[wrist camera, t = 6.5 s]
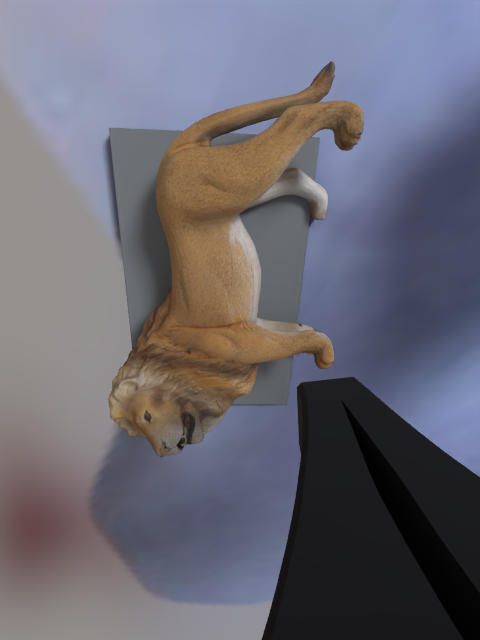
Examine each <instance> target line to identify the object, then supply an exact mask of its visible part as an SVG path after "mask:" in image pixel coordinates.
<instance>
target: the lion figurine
mask: <svg viewBox="0 0 480 640" xmlns="http://www.w3.org/2000/svg"><path fill="white" fill-rule="evenodd" d="M334 70H335V64H334V62H332V61H331V62H330V63H329V64H327V65H326V66H325V67H324V68H323V69H322V70H321V71H320V73H319V74H318V75H317V76H316V77H315V79H314V80H313V82H312V84H311V85H310V87H308V88H307V89H305V90H303V91H301V92H299V93H298V94H294V95H290V96H286V97H281V98H275V99H270V100H265V101H260V102H255V103H250V104H246V105H242V106H238V107H234V108H231V109H227V110H224V111H221V112H218V113H215V114H212V115H210V116H208V117H206V118H203V119H202V120H200V121H198V122H196V123H194V124H193V125H191V126H190V127H189V128H187V129H186V130H184V131H183V132H182V133H181V134H180V135H178V137H177V138H176V139H175V140H174V141H173V142H172V144H171V145H170V146H169V147H168V149H167V151H166V152H165V154H164V156H163V158H162V160H161V163H160V165H159V169H158V173H157V180H156V202H157V209H158V213H159V217H160V220H161V223H162V226H163V229H164V232H165V235H166V238H167V241H168V245H169V250H170V258H171V269H172V286H171V287H169V289H168V291H167V294H166V296H165V298H164V300H163V302H162V303H161V304H160V305H158V306H157V307H156V308H155V309H154V311H153V312H152V313H151V314H150V315H149V316H148V318H147V320H146V322H145V324H144V327H143V332H142V334H141V336H140V337H139V339H138V341H137V345H136V348H135V349H133V350H132V351H131V352H130V354H129V357H128V359H127V361H126V362H125V363H124V365H123V366H122V367H121V368H120V369H119V372H118V375H117V377H115V378H114V380H113V382H112V392H111V394H110V396H109V406H110V417H111V419H114V421H115V422H116V423H118V424H119V427H120V428H125V429H127V432H128V435H129V436H133V437H134V436H138V435H140V436H143V437H145V438H147V439H148V441H149V442H150V443H151V445H152V447H153V449H154V451H155V452H156V454H157V455H158V456H160V457H163V456H164V455H173V454H177V453H179V452H181V451H182V449H183V447H184V445H186V444H195V443H200V442H201V441H203V439H204V434H205V433H207V432H208V431H210V430H211V429H212V428H213V427H215V426H216V425H217V424H218V422H219V421H221V419H222V418H223V417H224V415H225V413H226V412H227V410H228V408H229V407H230V406H231V405H232V404H233V402H234V400H235V399H237V398H239V397H241V396H244V395H247V394H248V393H249V392H250V391H251V389H252V387H253V385H254V383H255V378H256V374H257V368H258V363H261V362H267V361H272V360H277V359H282V358H285V357H289V356H292V355H296V354H299V353H308V354H314V356H315V363H316V365H317V366H318V367H319V368H320V369H326V368H329V367H330V366H331V365H332V363H333V361H334V351H333V347H332V343H331V341H330V339H329V338H328V337H327V336H326V335H325V334H323V333H320V332H317V331H316V330H314V329H313V328H312V327H311V326H308V325H304V324H300V323H287V322H280V321H271V320H265V319H260V318H257V313H258V303H259V297H260V289H261V267H260V262H259V258H258V254H257V251H256V248H255V245H254V243H253V241H252V239H251V237H250V236H249V234H248V232H247V230H246V228H245V227H244V225H243V223H242V221H241V218H240V215H239V214H240V213H241V212H242V211H244V210H245V209H247V208H250V207H253V206H256V205H258V204H261V203H263V202H266V201H269V200H271V199H274V198H277V197H280V196H284V195H297V196H300V197H302V198H304V199H305V200H306V201H308V203H309V206H310V215H311V217H312V218H314V219H316V220H323V219H324V218H325V215H326V212H327V205H328V196H327V192H326V191H325V189H324V188H323V187H322V186H320V185H319V184H318V183H316V182H315V181H314V180H312V179H311V178H310V177H309V176H308V175H306V174H305V173H304V172H303V171H302V170H300V169H299V168H295V167H294V168H289V169H286V168H287V166H288V165H289V164H290V162H291V161H292V160H293V159H294V157H295V156H296V154H297V153H298V152H299V150H300V149H301V147H302V146H303V145H304V144H305V143H306V142H307V141H308V140H309V139H310V138H311V137H312V136H313V135H314V134H315V133H317V132H318V131H320V130H323V129H331V130H333V132H334V138H335V144H336V145H337V146H338V147H339V148H340V149H341V150H345V151H347V150H351V149H352V148H353V147H354V145H356V144H357V143H358V142H359V140H360V137H361V135H362V131H363V125H364V120H363V110H362V109H361V108H360V107H359V106H358V105H357V104H355V103H352V102H347V101H329V102H321V103H317V102H319V101H320V100H321V99H322V98H323V97H325V96H326V95H327V94H328V92H329V90H330V89H331V85H332V81H333V79H334V77H335V75H334ZM276 117H279V118H278V119H277V120H276V122H275V123H274V124H273V125H272V126H271V127H269V128H268V129H267V130H265V131H264V132H262V133H260V134H258V135H256V136H254V137H252V138H250V139H248V140H246V141H244V142H240V143H237V144H232V145H226V146H211V141H212V139H214V138H216V137H218V136H221V135H224V134H226V133H229V132H232V131H235V130H238V129H241V128H243V127H246V126H249V125H253V124H256V123H259V122H262V121H266V120H270V119H273V118H276Z"/></svg>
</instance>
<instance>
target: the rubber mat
mask: <svg viewBox="0 0 480 640" xmlns="http://www.w3.org/2000/svg"><path fill="white" fill-rule="evenodd" d="M182 132H183V131H167V130H146V129H125V128H109V133H110V142H111V152H112V161H113V171H114V180H115V189H116V199H117V208H118V218H119V227H120V237H121V246H122V255H123V265H124V274H125V284H126V293H127V303H128V312H129V320H130V330H131V339H132V350H133V349H135V348H136V345H137V341H138V339H139V337H140V336H141V334H142V332H143V327H144V324H145V322H146V320H147V318H148V316H149V315H150V314H151V313H152V312H153V311H154V309H155V308H156V307H157V306H158V305H160V304H161V303H162V302H163V300H164V298H165V296H166V294H167V291H168V289H169V287H171V286H172V269H171V258H170V250H169V245H168V241H167V238H166V235H165V232H164V229H163V226H162V223H161V220H160V217H159V213H158V209H157V202H156V180H157V173H158V169H159V165H160V163H161V160H162V158H163V156H164V154H165V152H166V151H167V149H168V147H169V146H170V145H171V144H172V142H173V141H174V140H175V139H176V138H177V137H178V135H180V134H181V133H182ZM254 136H256V135H253V134H232V133H226V134H224V135H221V136H218V137H216V138H214V139H212V141H211V146H226V145H232V144H237V143H240V142H244V141H246V140H248V139H250V138H252V137H254ZM319 141H320V138H318V137H311V138H310V139H309V140H308V141H307V142H306V143H305V144H304V145H303V146H302V147H301V149H300V150H299V152H298V153H297V154H296V156H295V157H294V159H293V160H292V161H291V162H290V164H289V165H288V166H287V168H286V169H289V168H294V167H295V168H299V169H300V170H302V171H303V172H304V173H305V174H306V175H308V176H309V177H310V178H311V179H312V180H314V181H315V173H316V165H317V157H318V149H319ZM239 215H240V218H241V221H242V223H243V225H244V227H245V228H246V230H247V232H248V234H249V236H250V237H251V239H252V241H253V243H254V245H255V248H256V251H257V254H258V258H259V262H260V267H261V289H260V297H259V303H258V313H257V318H260V319H265V320H271V321H280V322H287V323H297V319H298V311H299V303H300V295H301V287H302V279H303V270H304V262H305V254H306V246H307V238H308V230H309V222H310V206H309V203H308V201H306V200H305V199H304V198H302V197H300V196H297V195H284V196H280V197H277V198H274V199H271V200H269V201H266V202H263V203H261V204H258V205H256V206H253V207H250V208H247V209H245V210H244V211H242V212H241V213H240V214H239ZM292 360H293V355H292V356H289V357H285V358H282V359H277V360H272V361H267V362H261V363H258V368H257V374H256V378H255V383H254V385H253V387H252V389H251V391H250V392H249V393H248V394H247V395H244V396H241V397H239V398H237V399H235V400H234V402H233V404H260V405H287V400H288V392H289V384H290V376H291V368H292Z"/></svg>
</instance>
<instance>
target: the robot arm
mask: <svg viewBox="0 0 480 640" xmlns="http://www.w3.org/2000/svg"><path fill="white" fill-rule="evenodd" d="M297 401H298V425H299V445H300V451H301V461H300V469H299V477H298V485H297V492H296V498H295V504H294V510H293V515H292V521H291V525H290V530H289V535H288V540H287V545H286V549H285V553H284V558H283V562H282V566H281V570H280V574H279V578H278V583H277V587H276V591H275V594H274V598H273V602H272V606H271V609H270V613H269V617H268V620H267V624H266V627H265V630H264V634H263V637H262V640H480V477H479V476H477V475H476V474H474V473H473V472H472V471H470V470H469V469H467V468H466V467H465V466H463V465H462V464H460V463H459V462H458V461H456V460H455V459H454V458H452V457H451V456H449V455H448V454H447V453H445V452H444V451H443V450H441V449H440V448H439V447H437V446H436V445H435V444H434V443H432V442H431V441H430V440H428V439H427V438H426V437H425V436H423V435H422V434H421V433H420V432H418V431H417V430H416V429H415V428H413V427H412V426H411V425H410V424H408V423H407V422H406V421H405V420H404V419H402V418H401V417H400V416H399V415H398V414H396V413H395V412H394V411H393V410H392V409H390V408H389V407H388V406H387V405H386V404H385V403H383V402H382V401H381V400H380V399H379V398H378V397H376V396H375V395H374V394H373V393H372V392H371V391H369V390H368V389H367V388H366V387H365V386H364V385H362V384H361V383H360V382H359V381H358V380H357V379H355V378H354V377H348V378H339V379H330V380H321V381H312V382H303V383H301V384H300V385H299V386H298V387H297Z"/></svg>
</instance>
